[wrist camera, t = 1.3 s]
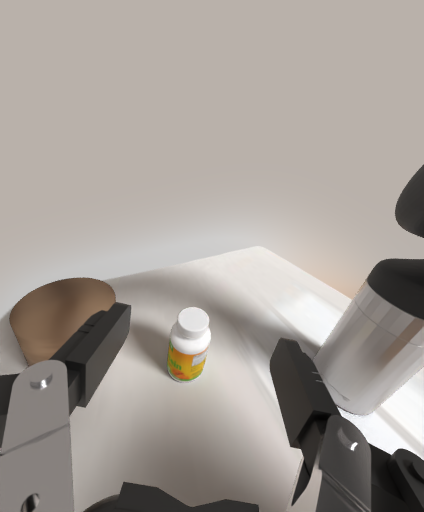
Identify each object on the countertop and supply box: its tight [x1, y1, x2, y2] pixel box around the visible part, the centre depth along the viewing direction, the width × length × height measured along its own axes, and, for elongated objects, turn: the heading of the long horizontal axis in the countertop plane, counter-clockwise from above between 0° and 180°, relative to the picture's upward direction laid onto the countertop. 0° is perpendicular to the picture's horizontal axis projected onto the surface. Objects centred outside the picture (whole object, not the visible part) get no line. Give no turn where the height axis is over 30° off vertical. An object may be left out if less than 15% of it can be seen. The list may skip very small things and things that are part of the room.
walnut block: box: [10, 278, 116, 367], centre depth 28 cm, size 11×11×8 cm
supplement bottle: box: [167, 307, 211, 383], centre depth 27 cm, size 5×5×10 cm
